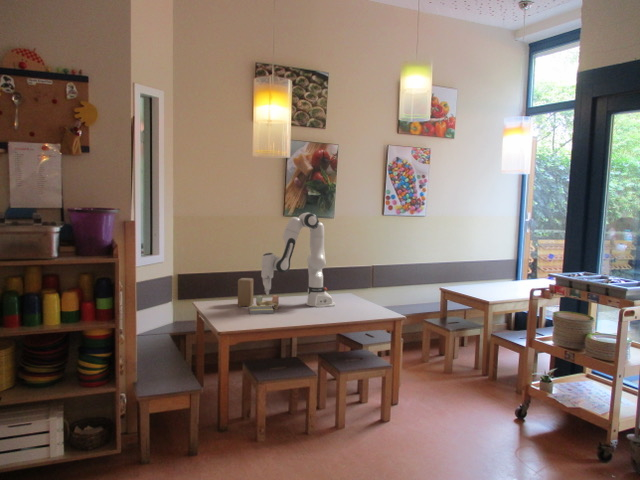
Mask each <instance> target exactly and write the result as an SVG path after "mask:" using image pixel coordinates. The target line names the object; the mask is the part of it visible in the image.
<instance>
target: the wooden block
mask: <svg viewBox="0 0 640 480" xmlns="http://www.w3.org/2000/svg"><path fill="white" fill-rule="evenodd" d="M253 304H254V278H252V277H241V278H239V279H238V280H237V306H238V307H249V306H253Z"/></svg>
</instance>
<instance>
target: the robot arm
mask: <svg viewBox="0 0 640 480" xmlns="http://www.w3.org/2000/svg"><path fill="white" fill-rule="evenodd" d="M303 228H308V229H309V250H310V254H309V255H308V256H307V258H306V260H307V261H306V262H307V271H308V286H307V300H306V304H305V305H307V306H310V307H315V308H323V307H335V306H336V302H335V301H334V300H333V297H332V296H331V295H330V294H329V293H328V292H327V290H328V288H327V287H325V286H324V273H323V269H325V267H326V265H327V261H326V253H325V251H326V250H325V226H324V223H322V222H321V221H319V217H318V216H317V215H316V214H315V213H313V212H301V213H300V214H299V215H297V216H293V217H292V216H291V218H290V219H289V220H288V222H287V224H286V226H285V228H284V231H283V235H282V240H283V241H284V245H285V246H284V249H283V253H282V256H281V257H280V256H277V255H276V254H274V253H273V252H267V253H264V254H263V255H262V258H261V274H260V275H261V278H262V285H263V287H264V293H265V294H266V296H269V295H270V291H271V289H272V279H273V278H274V273H275V271H277V272H279V273H280V274H285V273H287V272H289V270H290V268H291V259H292V256H293V253H294V249H295V246H296V242H297V240H298V238H299V235H300V233H301V230H302V229H303Z"/></svg>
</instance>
